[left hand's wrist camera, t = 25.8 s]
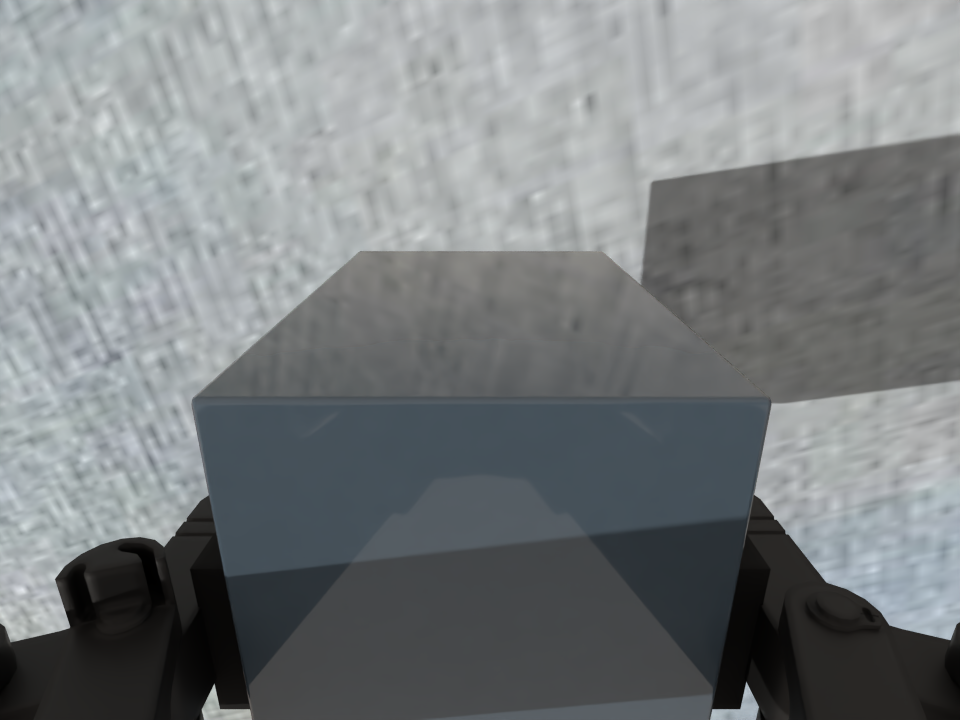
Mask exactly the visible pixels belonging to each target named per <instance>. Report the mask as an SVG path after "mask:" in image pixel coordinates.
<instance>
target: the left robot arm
mask: <svg viewBox="0 0 960 720" xmlns="http://www.w3.org/2000/svg"><path fill="white" fill-rule="evenodd" d="M55 580H56V583H57V587H58V590H59V593H60V596H61V599H62V602H63V605H64V608H65V611H66V615H67V618H68V621H69V624H70V628H69V629H66V630H63V631H59V632H55V633H50V634H46V635H42V636H37V637H33V638H29V639H24V640H20V641H16V642H10V640H9V637H8V634H7V631H6V629H5V627H4V626H3V625H1V624H0V720H204V718H203V714H202V708H203V706H204V703H205V701H206V699H207V697H208V695H209V693H210V691H211V689H212V687H213V685H214V683H215V687H216V692H217V697H218V701H219V706H220V709H250V705H249V700H248V695H247V690H246V684H245V679H244V674H243V669H242V664H241V658H240V653H239V648H238V643H237V638H236V632H235V627H234V622H233V617H232V612H231V606H230V601H229V596H228V591H227V586H226V581H225V575H224V570H223V565H222V560H221V555H220V549H219V544H218V539H217V534H216V529H215V523H214V518H213V513H212V508H211V503H210V498H209V496H207V497H206V498H204V499H203V500H201V501H200V502H199V504H198V505H197V506H196V507H195V509H194V510H193V511H192V513H191V514H190V515H189V516H188V518H187V522H184V523H183V524H182V525H181V527H180V528H179V529H178V530H177V532H176V535H175V536H173V537H172V538H171V539H170V541H169V542H168V543H167V544H166V546H165V547H163V546H162V545H161V544H159V543H158V542H157V541H156V540H152V539H147V538H142V537H137V538H125V539H119V540H116V541H112V542H109V543H105V544H102V545H99V546H97V547H95V548H93V549H91V550H89V551H87V552H85V553H83V554H81V555H80V556H78V557H77V558H75V559H74V560H73V561H71V562H70V563H69V564H67V565H66V566H65V567H64V568H63V570H62V571H61V572H60V573H59V575H58V576H57V577H56V579H55ZM746 682H747V684H748V686H749V688H750V690H751V692H752V694H753V696H754V698H755V700H756V702H757V704H758V706H759V709H758V714H757V718H756V720H960V623H958V624H957V625H956V628H955V630H954V633H953V636H952V638H951V640H947V639H942V638H938V637H933V636H929V635H925V634H920V633H916V632H912V631H907V630H903V629H899V628H896V627H893V626H889V624H888V623H887V621H886V620H885V618H884V617H883V615H882V614H881V612H880V611H878V610H877V609H876V608H875V607H874V606H872V605H871V604H870V603H869V602H868V601H867V600H865V599H864V598H862V597H860V596H858V595H856V594H854V593H852V592H851V591H849V590H847V589H844V588H841V587H838V586H835V585H832V584H828V583H826V582H825V580H824V579H823V578H822V577H821V575H820V574H819V573H818V572H817V570H816V569H815V568H814V567H813V565H812V564H811V563H810V561H809V560H808V559H807V558H806V556H805V555H804V554H803V553H802V551H801V550H800V549H799V548H798V546H797V545H796V544H795V542H794V541H793V540H792V539H791V537H790V536H789V535H786V534H785V530H784V529H783V527H782V526H781V525H780V524H779V522H778V521H777V520H774V516H773V515H772V513H771V512H770V511H769V510H768V508H767V507H766V506H765V505H764V503H763V502H762V501H761V499H759V498H758V497H756V496H755V495H754V497H753V502H752V507H751V512H750V518H749V523H748V528H747V533H746V538H745V543H744V548H743V553H742V559H741V564H740V569H739V574H738V579H737V584H736V589H735V594H734V600H733V605H732V610H731V615H730V620H729V625H728V630H727V635H726V641H725V646H724V651H723V656H722V661H721V666H720V671H719V677H718V682H717V687H716V692H715V697H714V702H713V707H712V709H740V708H741V703H742V699H743V694H744V689H745V685H746Z"/></svg>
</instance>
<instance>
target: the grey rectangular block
mask: <svg viewBox="0 0 960 720" xmlns="http://www.w3.org/2000/svg"><path fill="white" fill-rule="evenodd" d="M192 409H193V415H194V420H195V425H196V430H197V435H198V440H199V446H200V451H201V456H202V461H203V466H204V472H205V477H206V482H207V487H208V492H209V498H210V503H211V508H212V513H213V518H214V523H215V529H216V534H217V539H218V544H219V549H220V555H221V560H222V565H223V570H224V575H225V581H226V586H227V591H228V596H229V601H230V606H231V612H232V617H233V622H234V627H235V632H236V638H237V643H238V648H239V653H240V658H241V664H242V669H243V674H244V679H245V684H246V690H247V695H248V700H249V705H250V710H251V715H252V720H710V718H711V712H712V707H713V702H714V697H715V692H716V687H717V682H718V677H719V671H720V666H721V661H722V656H723V651H724V646H725V641H726V635H727V630H728V625H729V620H730V615H731V610H732V605H733V600H734V594H735V589H736V584H737V579H738V574H739V569H740V564H741V559H742V553H743V548H744V543H745V538H746V533H747V528H748V523H749V518H750V512H751V507H752V502H753V497H754V492H755V487H756V482H757V476H758V471H759V466H760V461H761V456H762V451H763V446H764V441H765V435H766V430H767V425H768V420H769V415H770V410H771V399H770V398H769V397H768V396H767V395H766V394H765V393H764V392H763V391H761V390H760V389H759V388H758V387H757V386H756V385H755V384H753V383H752V382H751V381H750V380H749V379H748V378H747V377H745V376H744V375H743V374H742V373H741V372H740V371H739V370H737V369H736V368H735V367H734V366H733V365H732V364H731V363H729V362H728V361H727V360H726V359H725V358H724V357H723V356H721V355H720V354H719V353H718V352H717V351H716V350H715V349H713V348H712V347H711V346H710V345H709V344H708V343H707V342H705V341H704V340H703V339H702V338H701V337H700V336H699V335H697V334H696V333H695V332H694V331H693V330H692V329H691V328H689V327H688V326H687V325H686V324H685V323H684V322H682V321H681V320H680V319H679V318H678V317H677V316H676V315H674V314H673V313H672V312H671V311H670V310H669V309H668V308H666V307H665V306H664V305H663V304H662V303H661V302H660V301H658V300H657V299H656V298H655V297H654V296H653V295H652V294H650V293H649V292H648V291H647V290H646V289H645V288H644V287H642V286H641V285H640V284H639V283H638V282H637V281H636V280H634V279H633V278H632V277H631V276H630V275H629V274H628V273H626V272H625V271H624V270H623V269H622V268H621V267H620V266H618V265H617V264H616V263H615V262H614V261H613V260H612V259H610V258H609V257H608V256H607V255H606V254H605V253H604V252H602V251H360V252H358V253H357V254H356V255H355V256H354V257H353V258H352V259H350V260H349V261H348V262H347V263H346V264H345V265H344V266H342V267H341V268H340V269H339V270H338V271H337V272H336V273H334V274H333V275H332V276H331V277H330V278H329V279H328V280H326V281H325V282H324V283H323V284H322V285H321V286H320V287H318V288H317V289H316V290H315V291H314V292H313V293H312V294H311V295H309V296H308V297H307V298H306V299H305V300H304V301H303V302H301V303H300V304H299V305H298V306H297V307H296V308H295V309H293V310H292V311H291V312H290V313H289V314H288V315H287V316H285V317H284V318H283V319H282V320H281V321H280V322H279V323H278V324H276V325H275V326H274V327H273V328H272V329H271V330H270V331H268V332H267V333H266V334H265V335H264V336H263V337H262V338H260V339H259V340H258V341H257V342H256V343H255V344H254V345H252V346H251V347H250V348H249V349H248V350H247V351H246V352H244V353H243V354H242V355H241V356H240V357H239V358H238V359H237V360H235V361H234V362H233V363H232V364H231V365H230V366H229V367H227V368H226V369H225V370H224V371H223V372H222V373H221V374H219V375H218V376H217V377H216V378H215V379H214V380H213V381H211V382H210V383H209V384H208V385H207V386H206V387H205V388H204V389H202V390H201V391H200V392H199V393H198V394H197V395H196V396H194V397H193V399H192Z"/></svg>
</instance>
